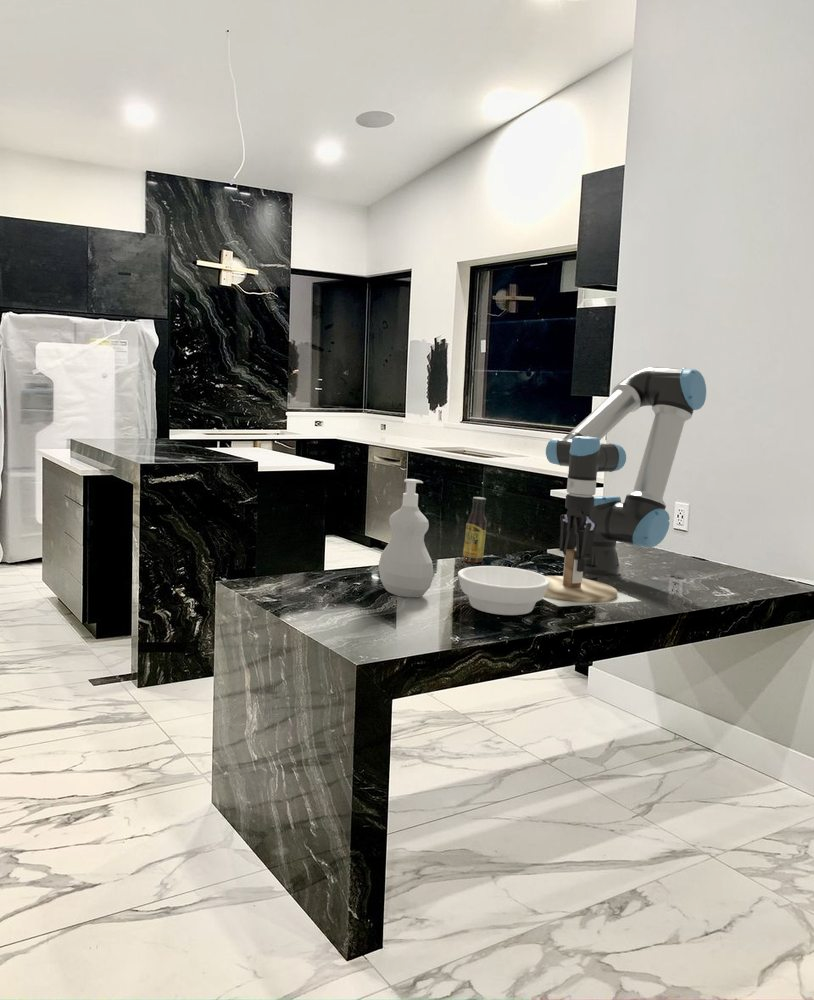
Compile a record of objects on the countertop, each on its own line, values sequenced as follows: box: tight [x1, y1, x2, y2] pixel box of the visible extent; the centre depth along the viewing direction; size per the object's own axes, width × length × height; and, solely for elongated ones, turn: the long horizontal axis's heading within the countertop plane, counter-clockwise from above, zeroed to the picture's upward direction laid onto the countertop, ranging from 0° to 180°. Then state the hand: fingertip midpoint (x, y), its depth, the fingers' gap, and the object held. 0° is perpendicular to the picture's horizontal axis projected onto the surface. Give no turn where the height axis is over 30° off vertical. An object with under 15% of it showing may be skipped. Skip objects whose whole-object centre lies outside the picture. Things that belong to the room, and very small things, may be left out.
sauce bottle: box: [462, 496, 488, 564], centre depth 263 cm, size 7×6×20 cm
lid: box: [544, 548, 618, 603], centre depth 232 cm, size 24×24×11 cm
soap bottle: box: [378, 478, 435, 598], centre depth 218 cm, size 17×12×29 cm
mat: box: [542, 591, 641, 608], centre depth 232 cm, size 26×26×1 cm
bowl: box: [457, 565, 550, 616], centre depth 211 cm, size 22×22×8 cm
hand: (572, 580), depth 232 cm, fingers closed on lid, 3 cm apart
